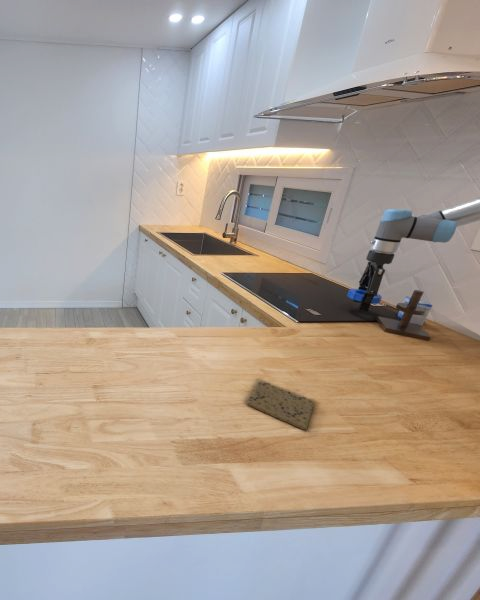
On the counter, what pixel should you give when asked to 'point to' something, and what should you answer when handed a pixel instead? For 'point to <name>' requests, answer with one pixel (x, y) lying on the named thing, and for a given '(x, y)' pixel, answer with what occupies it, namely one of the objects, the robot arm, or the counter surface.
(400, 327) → the stand
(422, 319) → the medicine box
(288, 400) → the cookie
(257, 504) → the counter surface
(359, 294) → the blue plastic ring
